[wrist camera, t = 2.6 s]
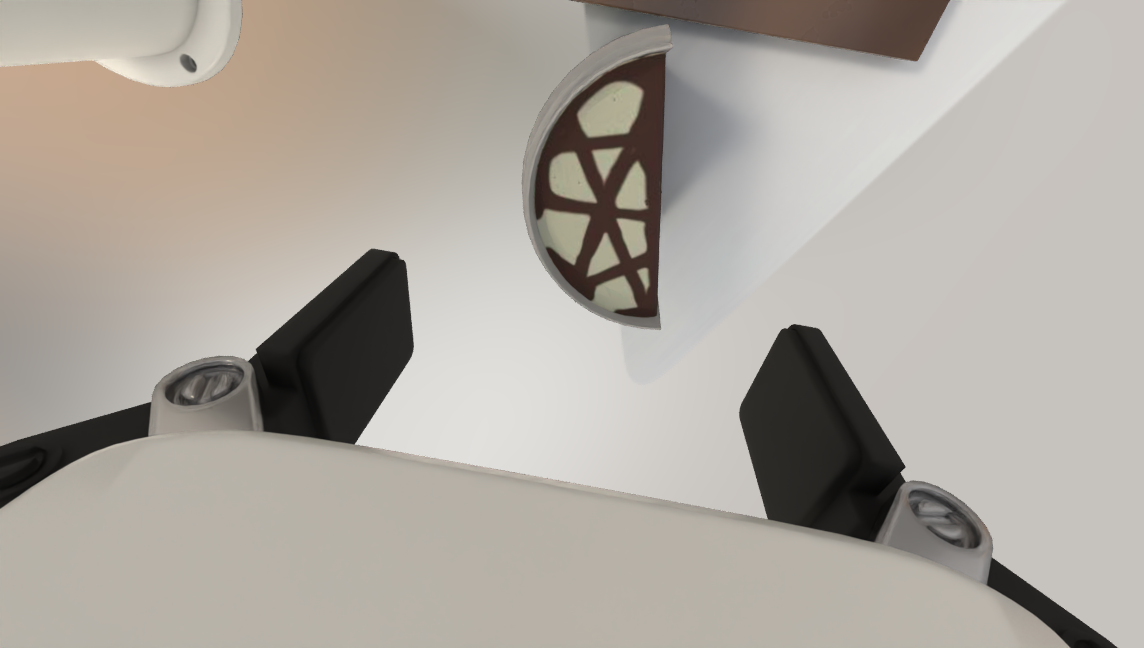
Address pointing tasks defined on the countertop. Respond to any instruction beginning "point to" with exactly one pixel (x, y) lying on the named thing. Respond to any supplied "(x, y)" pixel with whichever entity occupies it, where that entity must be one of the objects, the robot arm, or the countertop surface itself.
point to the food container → (602, 179)
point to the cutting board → (811, 20)
